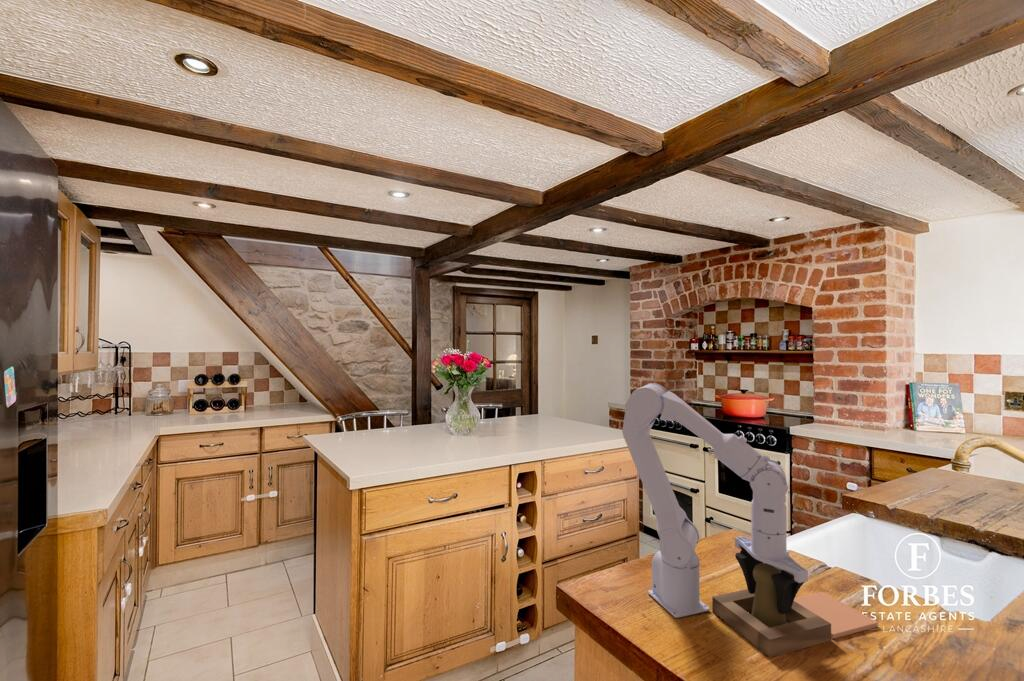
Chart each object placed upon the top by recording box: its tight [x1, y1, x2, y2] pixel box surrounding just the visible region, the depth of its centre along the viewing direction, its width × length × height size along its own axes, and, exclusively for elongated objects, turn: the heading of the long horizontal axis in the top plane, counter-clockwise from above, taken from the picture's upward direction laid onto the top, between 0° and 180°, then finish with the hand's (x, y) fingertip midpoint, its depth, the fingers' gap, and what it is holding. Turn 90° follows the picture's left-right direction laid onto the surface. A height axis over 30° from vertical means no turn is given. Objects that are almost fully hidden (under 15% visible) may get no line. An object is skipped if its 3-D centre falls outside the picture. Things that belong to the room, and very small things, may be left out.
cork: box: [751, 563, 788, 628], centre depth 88 cm, size 6×6×11 cm
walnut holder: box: [711, 588, 832, 658], centre depth 88 cm, size 14×14×3 cm
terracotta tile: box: [794, 591, 879, 640], centre depth 91 cm, size 11×11×1 cm
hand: (768, 601), depth 88 cm, fingers open, 6 cm apart
